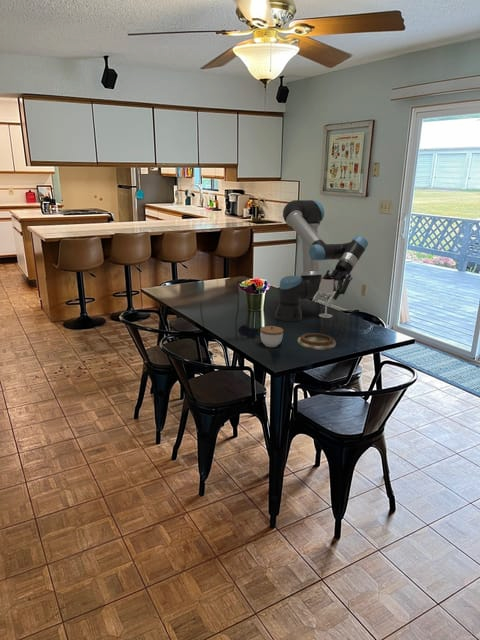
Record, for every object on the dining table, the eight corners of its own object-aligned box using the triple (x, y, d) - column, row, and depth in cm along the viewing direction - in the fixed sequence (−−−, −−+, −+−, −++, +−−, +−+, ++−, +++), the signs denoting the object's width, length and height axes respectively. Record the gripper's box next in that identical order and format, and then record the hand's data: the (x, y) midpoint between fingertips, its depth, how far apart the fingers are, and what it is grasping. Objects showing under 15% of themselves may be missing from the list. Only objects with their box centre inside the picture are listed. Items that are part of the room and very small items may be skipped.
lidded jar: (284, 348, 218) (285, 329, 216) (261, 349, 217) (262, 329, 215) (280, 341, 228) (281, 322, 226) (258, 341, 228) (259, 322, 225)
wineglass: (330, 319, 220) (333, 281, 214) (314, 316, 224) (316, 278, 218) (336, 315, 226) (339, 277, 221) (320, 312, 230) (322, 275, 225)
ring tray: (294, 347, 221) (295, 341, 220) (300, 335, 238) (300, 330, 237) (334, 351, 217) (334, 345, 216) (337, 339, 233) (337, 334, 233)
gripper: (367, 272, 221) (342, 311, 216) (332, 266, 236) (308, 302, 231) (361, 262, 216) (336, 302, 211) (325, 256, 231) (301, 293, 226)
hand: (321, 302), depth 221 cm, fingers closed on wineglass, 8 cm apart
